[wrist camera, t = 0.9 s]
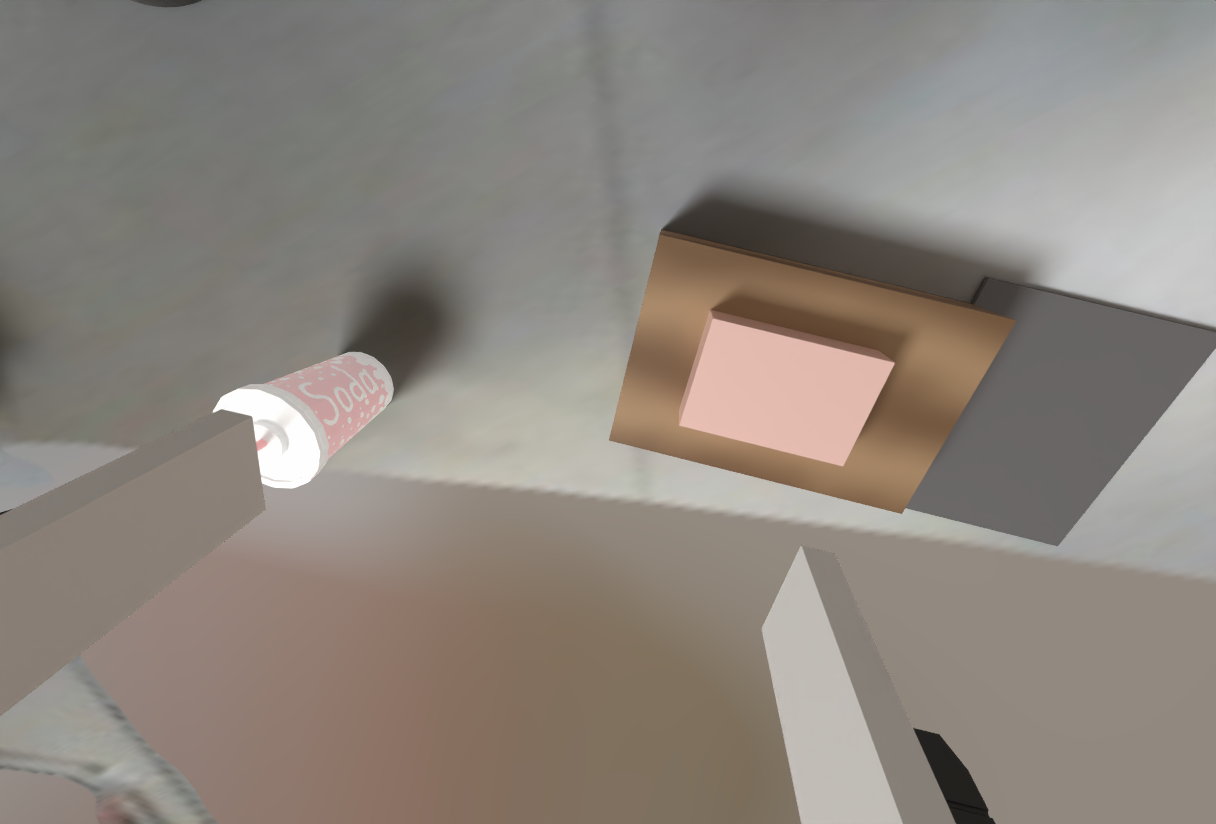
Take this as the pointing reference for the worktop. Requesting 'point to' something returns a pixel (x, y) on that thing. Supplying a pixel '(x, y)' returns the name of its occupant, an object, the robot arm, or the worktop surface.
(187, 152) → the worktop surface
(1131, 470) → the worktop surface
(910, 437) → the brown wooden slab
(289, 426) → the beverage cup
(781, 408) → the block
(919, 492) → the mat
